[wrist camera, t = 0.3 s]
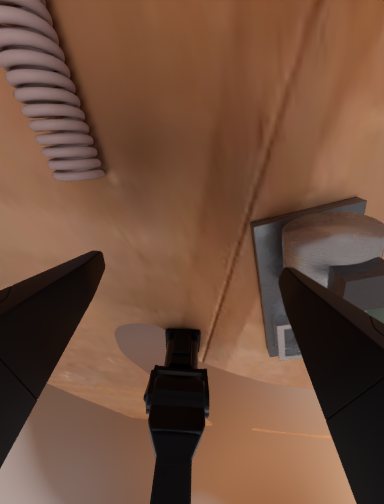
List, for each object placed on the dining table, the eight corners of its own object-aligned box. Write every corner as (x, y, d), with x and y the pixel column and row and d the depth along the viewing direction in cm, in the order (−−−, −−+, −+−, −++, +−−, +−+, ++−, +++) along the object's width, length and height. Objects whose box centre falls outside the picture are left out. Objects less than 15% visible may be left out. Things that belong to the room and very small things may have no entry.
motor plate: (332, 341, 35) (382, 416, 26) (267, 349, 37) (290, 422, 28) (356, 196, 21) (483, 244, 12) (250, 222, 23) (286, 280, 14)
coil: (97, 183, 18) (-58, -235, 8) (48, 190, 18) (-161, -219, 8) (111, 175, 22) (17, -113, 12) (71, 181, 22) (-52, -103, 12)
